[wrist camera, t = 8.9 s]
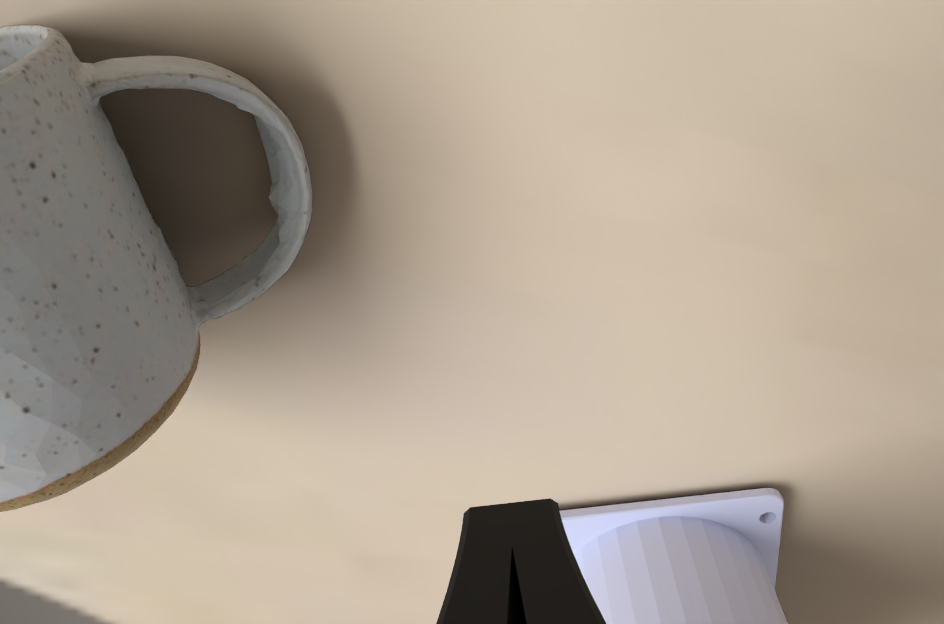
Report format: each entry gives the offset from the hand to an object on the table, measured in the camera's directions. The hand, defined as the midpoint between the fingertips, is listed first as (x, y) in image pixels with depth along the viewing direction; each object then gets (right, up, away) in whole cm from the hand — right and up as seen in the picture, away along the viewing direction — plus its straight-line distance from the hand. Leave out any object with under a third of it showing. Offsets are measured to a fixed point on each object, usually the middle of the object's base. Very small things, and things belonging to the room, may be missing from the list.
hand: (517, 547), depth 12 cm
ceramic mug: (-10, +7, +7) cm, 14 cm away
